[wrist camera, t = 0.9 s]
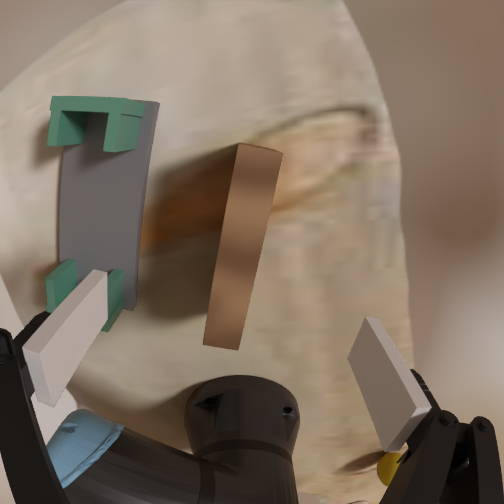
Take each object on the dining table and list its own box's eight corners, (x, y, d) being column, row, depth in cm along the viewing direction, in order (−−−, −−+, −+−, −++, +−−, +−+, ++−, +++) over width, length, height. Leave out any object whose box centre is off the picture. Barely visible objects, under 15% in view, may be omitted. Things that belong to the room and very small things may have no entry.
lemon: (391, 441, 44) (404, 476, 36) (405, 447, 45) (418, 480, 38) (366, 457, 45) (377, 492, 38) (381, 463, 46) (393, 495, 39)
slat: (239, 304, 33) (238, 350, 26) (211, 299, 33) (202, 344, 26) (272, 149, 28) (283, 153, 21) (240, 142, 28) (238, 143, 20)
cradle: (136, 305, 33) (118, 337, 27) (66, 288, 32) (39, 314, 27) (159, 103, 26) (138, 95, 20) (77, 97, 25) (43, 92, 20)
